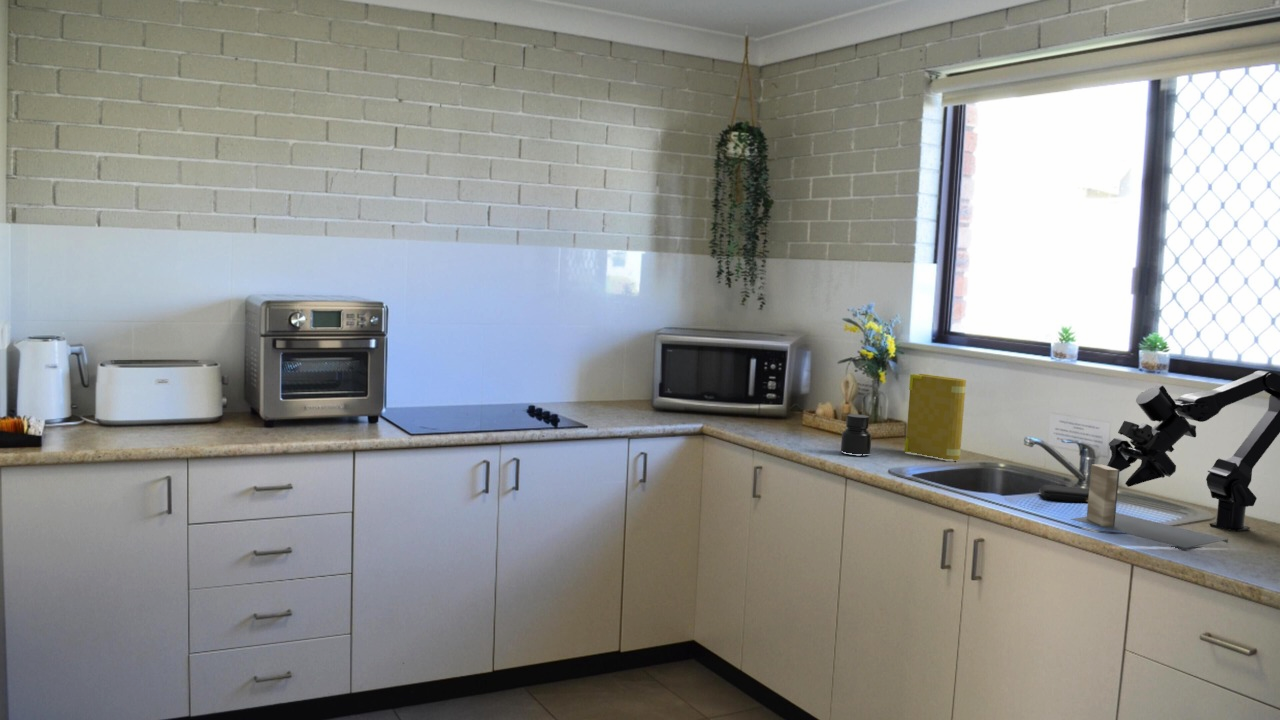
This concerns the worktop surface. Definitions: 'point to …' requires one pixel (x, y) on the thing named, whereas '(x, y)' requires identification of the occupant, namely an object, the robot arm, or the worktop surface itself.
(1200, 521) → the worktop surface
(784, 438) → the worktop surface
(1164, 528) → the mat
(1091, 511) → the tan wooden block
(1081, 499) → the carrying case or bag
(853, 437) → the ink bottle
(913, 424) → the book
